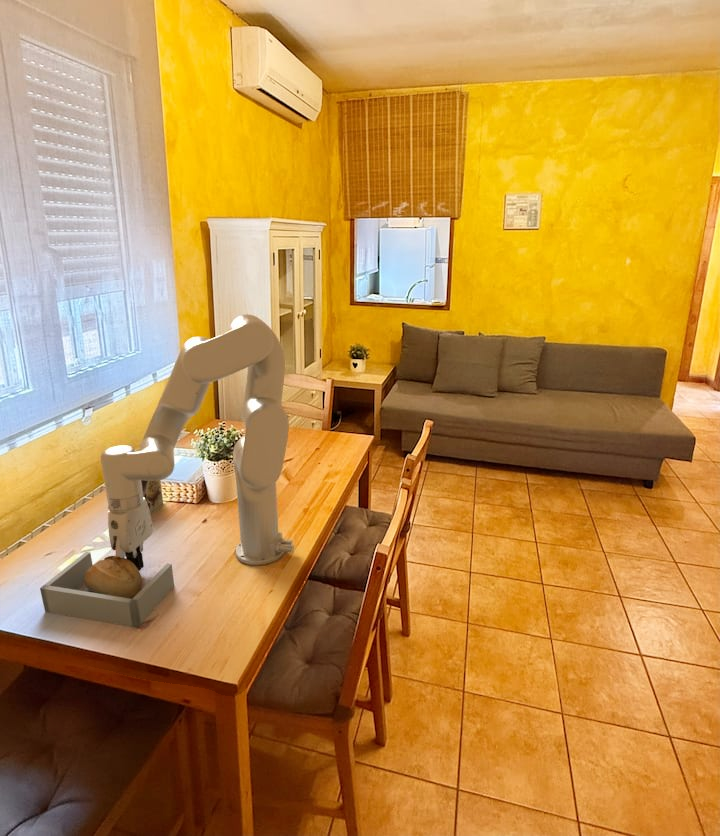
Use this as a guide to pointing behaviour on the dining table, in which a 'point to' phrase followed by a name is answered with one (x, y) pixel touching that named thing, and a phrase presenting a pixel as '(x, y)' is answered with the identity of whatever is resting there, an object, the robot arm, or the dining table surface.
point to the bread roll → (114, 578)
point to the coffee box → (152, 493)
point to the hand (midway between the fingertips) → (136, 568)
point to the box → (103, 596)
